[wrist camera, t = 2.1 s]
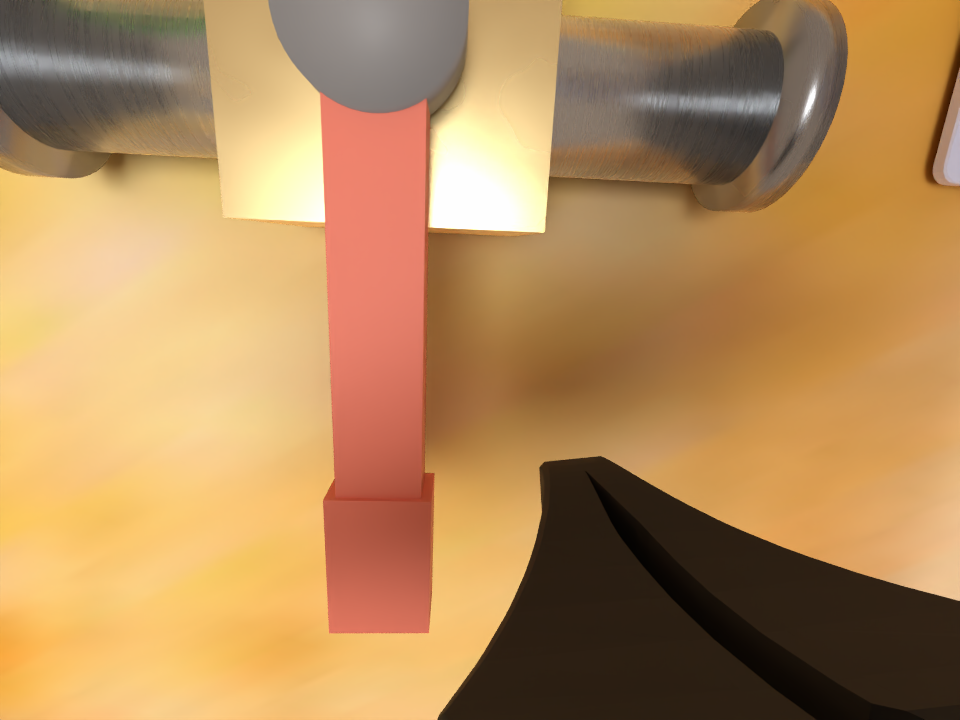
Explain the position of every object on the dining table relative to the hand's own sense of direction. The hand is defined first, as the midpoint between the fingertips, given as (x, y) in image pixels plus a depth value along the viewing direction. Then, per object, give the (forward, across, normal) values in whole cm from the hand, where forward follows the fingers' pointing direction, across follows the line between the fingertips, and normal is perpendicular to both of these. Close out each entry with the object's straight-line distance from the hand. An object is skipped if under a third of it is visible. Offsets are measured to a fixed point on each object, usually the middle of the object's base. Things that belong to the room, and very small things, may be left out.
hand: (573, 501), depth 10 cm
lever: (0, +4, -4) cm, 6 cm away
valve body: (+5, +3, -9) cm, 11 cm away
